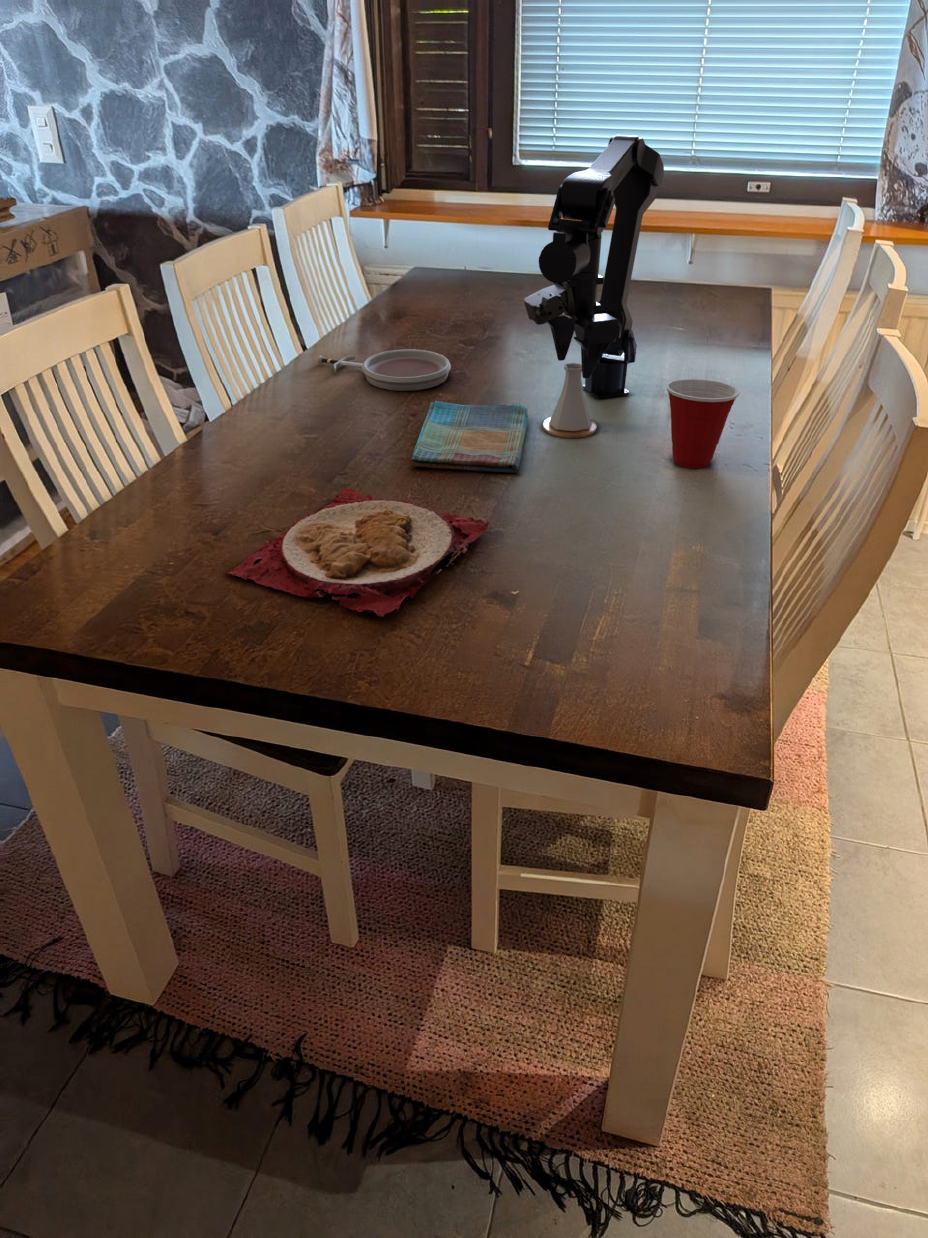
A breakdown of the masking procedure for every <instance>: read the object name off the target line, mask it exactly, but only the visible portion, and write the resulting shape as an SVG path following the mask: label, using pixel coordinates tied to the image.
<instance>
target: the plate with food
mask: <svg viewBox="0 0 928 1238" xmlns="http://www.w3.org/2000/svg"><path fill="white" fill-rule="evenodd" d="M332 501H333V502H331V503H329V504H327V505H326V506H325V507H323V508H321V509H320V510H317V511H316V512H310V513H308V514H307V515H306V516H304V517H301V518H298V520H293V524H292V525H291V526H290V527H288V528H287V529H285V531H284V532H282V533H281V534H280V535H278V536H276V537H275V539H273V540H270V541H269V542H268V543H265V544H264V545H262V546H261V547H260V549H259V550H258V551H256V552H254V553H253V554H250V555H249V556H246V558H245V559H244V560H243V561H242V562H241V563H240V564H239V565H238V566H235V567H234V568H232V569H229V570H228V571H226V572H227V573H228V574H231V576H232V577H235V576H237V577H238V578H242V579H243V580H245V581H247V580H249V579H250V580H251V581H252V580H253V581H254V583H255V584H257V585H262V586H263V587H265V588H267V587H269V588H271V589H274V590H279V591H283V592H285V593H289V594H291V595H293V596H294V595H296V596H297V597H303V598H308V599H311V598H323V597H324V596H326V595H327V594H328V595H331V594H333V595H332V596H331V600H333V601H337V602H338V601H339V607H340V608H343V607H344V608H345V609H349V610H350V611H357V612H358V613H361V612H365V611H366V612H367V613H375V614H376V616H377V617H378V618H380V617H385V616H386V615H387V614H391V613H392V612H393V611H394V610H399V609H400V607H401V604H402V602H403V601H404V599H405V598H406V597H407V598H411V599H414V597H415V596H417V593H418V591H419V590H420V589H421V588H422V587H423V586H425V585H426V584H427V583H429V581H430V580H431V579H432V578H433V577H434V576H435V575H437V574H438V575H439V574H440V572H442V571H443V569H442V568H439V569H436V570H434V568H436V566H437V565H438V564H439V563H440V561H442V560H443V559H445V557H447V560H448V563H447V564H445V567H449V565H451V564H452V565H454V564H455V563H454V560H455V559H456V558H458V556H461V555H462V554H466V552H468V548H469V547H470V546H469V545H471V543H473V542H475V541H476V540H477V539H478V538H479V537H480V536H481V535H483V533H484V532H485V531H486V529H488V527H489V524H490V522H489V521H488V519H487V520H486V521H483V520H482V518H479V519H474V517H472V516H469V517H463V516H461V515H460V516H458V515H457V514H455V513H453V514H450V512H449V511H448V512H447V511H446V512H445V514H444V513H443V512H441V511H440V510H436V509H434V508H429V507H428V506H425V505H424V506H419V505H417V504H414V503H413V502H412V501H411V500H410V499H408V500H401V501H400V500H398V499H396V500H393V499H383V498H380V499H379V498H374V497H373V496H371V495H369V494H368V495H366V496H363V495H362V494H361V492H360V491H358V490H357V491H356V490H353V489H352V488H343V489H342V491H341V492H340V494H339V495H338V494H335V497H334V498H333V499H332ZM257 560H260V561H258V563H255V562H256V561H257ZM433 570H434V571H433ZM432 571H433V572H432ZM351 594H357V595H355V597H353V598H351V597H349V596H348V595H351Z"/></svg>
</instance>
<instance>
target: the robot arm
mask: <svg viewBox="0 0 928 1238" xmlns="http://www.w3.org/2000/svg"><path fill="white" fill-rule="evenodd" d="M664 173H665V166H664V162H663V159H662V156H661V155H660V153H659V152H658V151H656V150H655V149H653V148H652V147H650V146H649V145H647V144H646V142H645V140H644V138H643V137H640V136H639V135H629V134H628V135H627V134H616V135H615V136H614V135H613V136H610V138H609V140H608V144H607V146H606V147H605V149H604V150H603V151H602V152H601V153H600V154H599V156H598V157H597V158H596V159H595V161H593V163H592V164H591V165H590V166H589V168H587V169H584V170H580V171H575V172H573V173H571V174H570V175H568V176H566V177H565V178H564V179H563V182H562V183H561V184H560V185H559V187H558V189H557V193H556V197H555V200H554V204H553V208H552V210H551V211H552V212H551V215H550V219H549V222H548V226H547V230H548V231H552V241H551V242H549V243H547V244H545V246H544V247H542V249H541V251H540V254H539V257H538V267H539V268H538V269H539V271H540V273H541V274H542V276H543V277H544V278H545V279H546V280H547V281H549V282H551V283H553V284H552V285H549V286H547V287H543V288H541V289H539V290H537V291H535V292H534V293H532V294H529V295H528V296H526V297H525V298H523V303H524V306H525V310H526V314H527V317H528V319H529V321H533V322H534V323H535V325H538V326H540V325H544V324H548V325H549V328H550V332H551V335H552V340H553V344H554V349H555V353H556V357H557V360H558V361H560V362H562V361H565V360H566V357H567V355H568V352H569V350H570V345H571V343H572V339H573V340H575V342H576V343H577V344H578V345H579V346H580V360H581V363H580V364H582V373H581V378H583V379H584V384H582V389H584V390H585V391H587V392H588V393H590V395H592V396H593V397H594V398H596V399H607V398H615V397H621V396H628V395H630V391H629V390H628V389H627V388H626V383H627V372H628V365H629V364H634V363H635V362H636V357H637V356H636V355H637V347H638V345H637V341H636V339H635V338H636V337H635V334H634V331H633V329H632V328H633V318H632V316H631V315H632V314H631V313H630V310H629V307H628V300H629V299H628V297H629V293H630V288H631V282H632V276H633V271H634V265H635V260H636V254H637V251H638V250H637V249H638V245H639V239H640V233H641V227H642V222H643V216H644V214H645V213H646V211H648V209H649V208H650V207H651V205H652V204H653V203H654V201H656V198H657V194H658V190H659V187H661V185H662V183H663V179H664ZM614 207H615V214H614V220H613V226H612V231H611V237H610V242H609V248H608V254H607V258H606V265H605V269H604V270H605V271H604V276H602V275H601V274H599V273H600V263H601V262H600V261H601V250H602V249H601V248H602V237H603V235H602V233H603V232H604V230H605V229H607V228H608V224H609V221H610V218H611V215H612V212H613V209H614ZM600 285H602V288H601V294H600V299H599V301H598V287H599V286H600ZM574 334H575V336H574Z"/></svg>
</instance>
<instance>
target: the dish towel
mask: <svg viewBox="0 0 928 1238" xmlns="http://www.w3.org/2000/svg"><path fill="white" fill-rule="evenodd" d="M528 414H529V412H528V408H527V407H526V406H525V405H524V404H521V403H505V404H456V403H449V402H444V401H439V400H435V401H434V402H433V401H432V402H430V404H429V409H428V412H427V414H426V416H425V419H424V421H423V423H422V424H423V425H422V427H421V430H420V432H419V435H418V438H417V441H416V444H415V446H414V449H413V452H412V455H411V457H410V459H411V461H410V462H411V467H414V468H432V469H446V470H447V469H448V470H460V471H461V470H462V471H463V470H464V471H475V472H477V471H478V472H486V473H489V472H490V473H505V474H515V473H518V472H519V469H520V465H521V460H522V453H523V448H524V443H525V436H526V432H527V429H528V421H529V415H528Z"/></svg>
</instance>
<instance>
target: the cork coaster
mask: <svg viewBox="0 0 928 1238" xmlns="http://www.w3.org/2000/svg"><path fill="white" fill-rule="evenodd" d="M551 417H552V416H550V417H547V418H546V419H544V420H543V422H542V428H543V430H544V432H546V433H547V434H549V435H552V436H555V437H559V438H566V439H567V438H568V439H576V438H585V437H588V436H591V435H593V434H595V433H596V431H597V427H598V425H597V423H596V422H595V420H593V419H591V425H590V428H589V429H583V430H578V431H567V430H557V429H555V428H554V427H553V426H552V425H550V424H549V422H550V419H551Z"/></svg>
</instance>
